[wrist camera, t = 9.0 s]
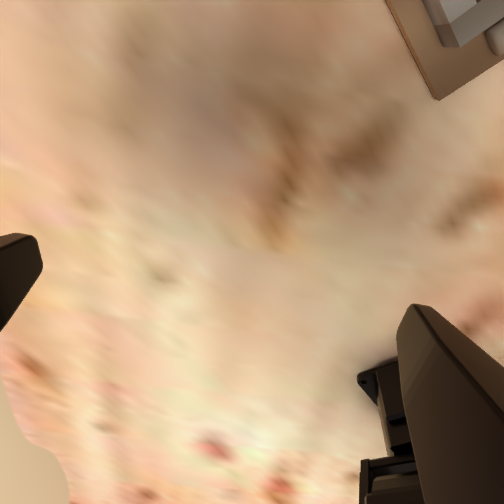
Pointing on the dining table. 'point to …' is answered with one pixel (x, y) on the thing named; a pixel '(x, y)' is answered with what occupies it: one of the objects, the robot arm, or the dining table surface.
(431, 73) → the frame
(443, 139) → the dining table surface
